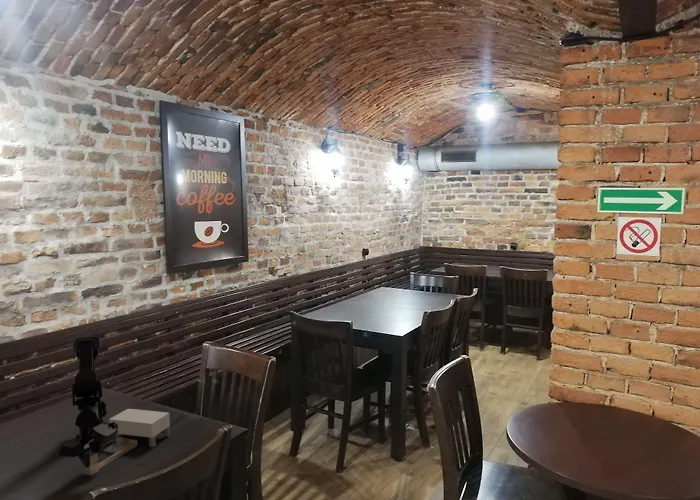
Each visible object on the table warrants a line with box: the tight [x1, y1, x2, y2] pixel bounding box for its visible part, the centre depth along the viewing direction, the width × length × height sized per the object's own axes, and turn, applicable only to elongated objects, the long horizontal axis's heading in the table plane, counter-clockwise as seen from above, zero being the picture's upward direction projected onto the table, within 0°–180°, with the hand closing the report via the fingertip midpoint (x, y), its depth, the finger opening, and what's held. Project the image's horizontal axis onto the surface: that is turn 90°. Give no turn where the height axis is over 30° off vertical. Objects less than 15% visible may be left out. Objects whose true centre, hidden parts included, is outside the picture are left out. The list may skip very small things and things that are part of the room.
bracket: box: [162, 413, 184, 433], centre depth 199 cm, size 14×15×3 cm
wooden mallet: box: [82, 436, 138, 476], centre depth 170 cm, size 10×21×6 cm, turn 161°
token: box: [103, 441, 130, 454], centre depth 177 cm, size 6×6×1 cm
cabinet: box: [108, 408, 171, 448], centre depth 185 cm, size 18×10×8 cm, turn 74°
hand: (91, 464), depth 161 cm, fingers closed on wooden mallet, 3 cm apart
